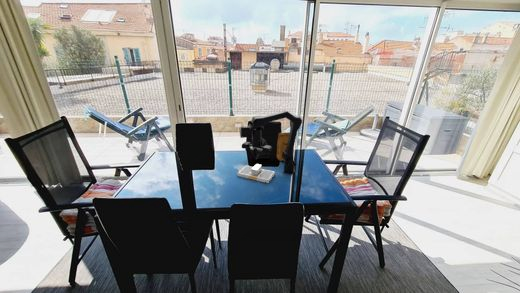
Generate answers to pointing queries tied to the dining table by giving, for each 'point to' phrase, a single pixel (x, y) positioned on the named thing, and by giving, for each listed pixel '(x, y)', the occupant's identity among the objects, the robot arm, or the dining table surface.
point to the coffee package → (282, 144)
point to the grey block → (256, 170)
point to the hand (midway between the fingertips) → (256, 159)
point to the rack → (263, 176)
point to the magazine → (263, 154)
